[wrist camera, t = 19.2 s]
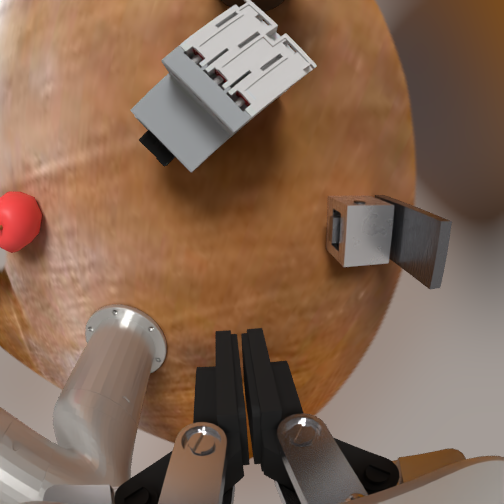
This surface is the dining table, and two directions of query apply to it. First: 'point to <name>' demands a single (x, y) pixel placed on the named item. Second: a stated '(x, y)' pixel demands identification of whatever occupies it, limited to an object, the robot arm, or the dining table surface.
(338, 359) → the dining table surface
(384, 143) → the dining table surface
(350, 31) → the dining table surface
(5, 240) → the apple
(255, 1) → the olive oil
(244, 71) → the circuit breaker
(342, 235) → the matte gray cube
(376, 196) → the grey l-shaped bracket part
